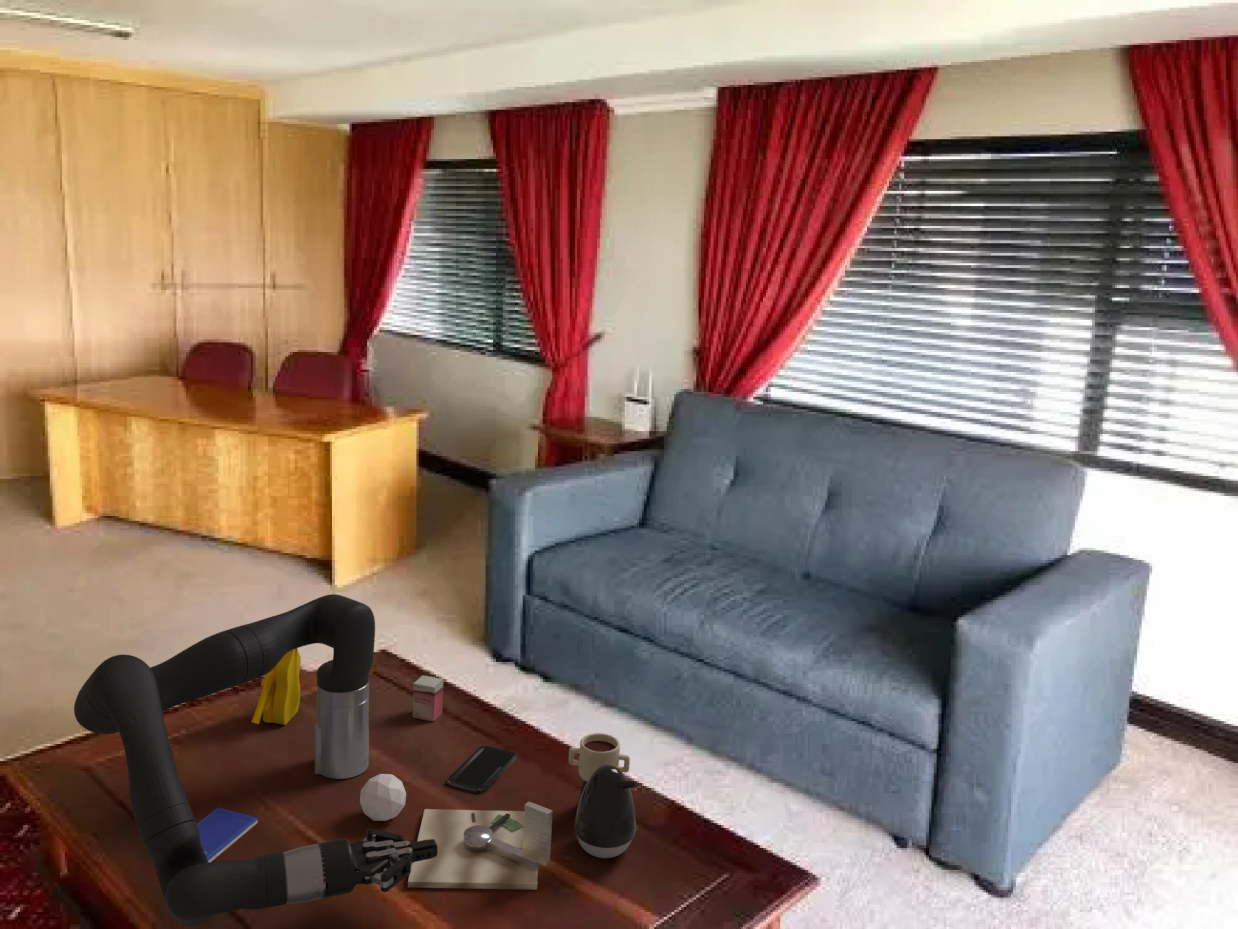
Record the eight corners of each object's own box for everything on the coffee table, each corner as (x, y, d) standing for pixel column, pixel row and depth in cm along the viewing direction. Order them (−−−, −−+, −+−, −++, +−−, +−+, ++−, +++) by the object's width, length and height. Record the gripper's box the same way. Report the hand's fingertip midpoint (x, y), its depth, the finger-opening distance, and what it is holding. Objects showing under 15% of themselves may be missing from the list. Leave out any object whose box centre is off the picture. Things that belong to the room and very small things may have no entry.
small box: (411, 718, 211) (412, 683, 209) (421, 709, 215) (422, 674, 214) (434, 722, 210) (434, 687, 208) (443, 713, 214) (444, 678, 212)
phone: (444, 781, 187) (482, 744, 201) (444, 786, 188) (482, 749, 201) (483, 791, 185) (519, 753, 199) (483, 797, 185) (519, 758, 199)
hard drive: (207, 858, 161) (257, 817, 173) (165, 846, 163) (217, 806, 175) (208, 867, 161) (257, 825, 173) (165, 855, 164) (217, 814, 175)
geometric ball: (392, 835, 176) (403, 816, 171) (348, 819, 175) (358, 800, 170) (406, 795, 182) (417, 775, 176) (363, 779, 181) (373, 759, 175)
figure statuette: (282, 697, 217) (280, 599, 212) (317, 701, 216) (316, 603, 211) (242, 737, 200) (239, 632, 194) (281, 742, 199) (279, 636, 194)
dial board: (407, 887, 159) (408, 881, 158) (424, 814, 178) (424, 808, 178) (537, 889, 160) (537, 883, 160) (539, 816, 179) (539, 811, 179)
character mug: (629, 802, 186) (633, 737, 183) (622, 824, 179) (627, 757, 176) (570, 793, 187) (574, 728, 184) (561, 815, 180) (565, 748, 177)
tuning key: (457, 844, 168) (458, 786, 165) (497, 813, 177) (499, 758, 175) (539, 879, 160) (541, 819, 158) (576, 845, 169) (579, 788, 167)
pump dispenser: (614, 876, 164) (620, 791, 161) (561, 852, 170) (565, 769, 166) (646, 845, 173) (652, 764, 169) (595, 824, 178) (600, 745, 175)
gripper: (311, 866, 154) (425, 844, 161) (324, 923, 142) (446, 896, 149) (311, 822, 152) (426, 802, 159) (323, 876, 140) (447, 851, 147)
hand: (436, 847), depth 154 cm, fingers closed
